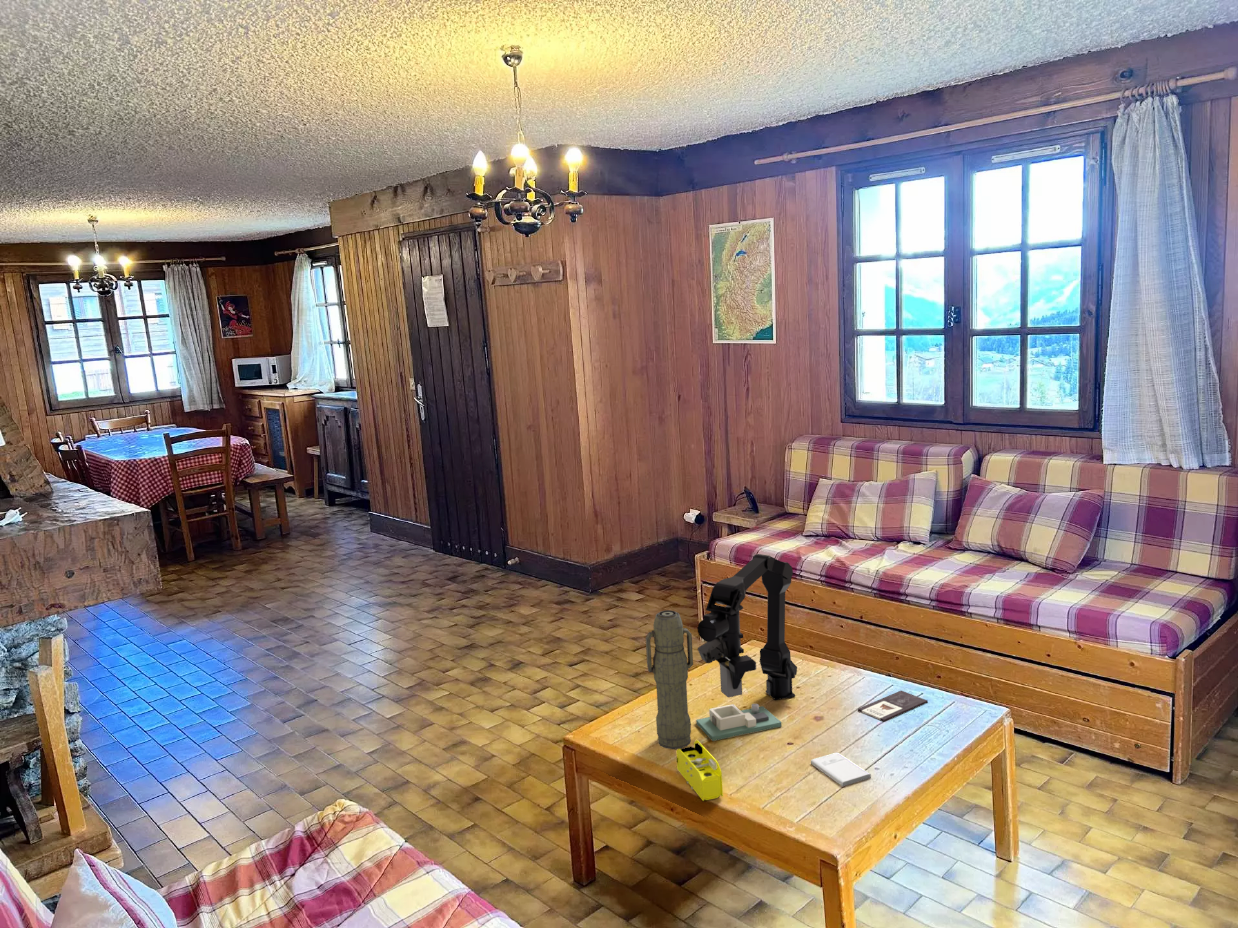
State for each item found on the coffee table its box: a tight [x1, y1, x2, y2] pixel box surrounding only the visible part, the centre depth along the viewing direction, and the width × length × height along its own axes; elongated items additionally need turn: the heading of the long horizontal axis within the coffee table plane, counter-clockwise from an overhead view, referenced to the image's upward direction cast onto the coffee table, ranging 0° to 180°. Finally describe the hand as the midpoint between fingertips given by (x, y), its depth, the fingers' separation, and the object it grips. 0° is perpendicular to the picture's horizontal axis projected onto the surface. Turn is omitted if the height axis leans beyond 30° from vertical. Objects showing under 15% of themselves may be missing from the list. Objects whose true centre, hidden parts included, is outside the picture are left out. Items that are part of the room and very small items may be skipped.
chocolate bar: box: [857, 690, 928, 723], centre depth 251 cm, size 9×1×18 cm
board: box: [695, 703, 783, 742], centre depth 245 cm, size 20×11×4 cm, turn 108°
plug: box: [719, 661, 743, 698], centre depth 242 cm, size 4×4×9 cm
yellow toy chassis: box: [675, 739, 724, 802], centre depth 216 cm, size 16×6×8 cm, turn 18°
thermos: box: [645, 609, 694, 750], centre depth 236 cm, size 9×12×35 cm
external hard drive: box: [810, 752, 872, 787], centre depth 219 cm, size 2×8×12 cm
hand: (731, 685), depth 242 cm, fingers closed on plug, 4 cm apart
